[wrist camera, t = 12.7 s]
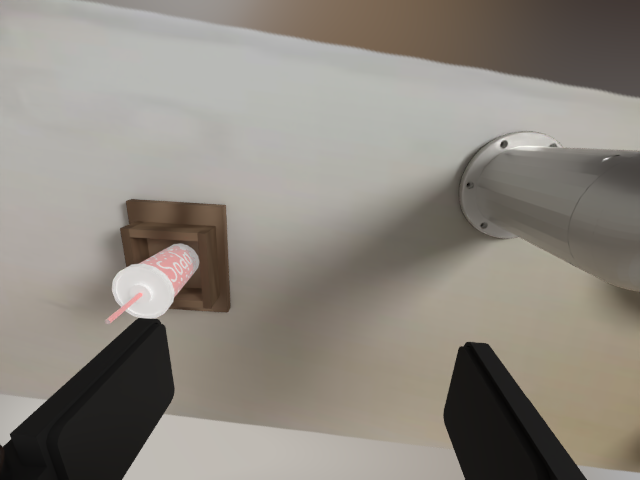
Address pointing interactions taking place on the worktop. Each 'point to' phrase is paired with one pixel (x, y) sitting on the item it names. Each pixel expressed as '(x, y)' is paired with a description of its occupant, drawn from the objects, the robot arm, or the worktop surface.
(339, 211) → the worktop surface
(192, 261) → the beverage cup
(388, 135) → the worktop surface
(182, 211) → the cup holder
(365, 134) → the worktop surface
